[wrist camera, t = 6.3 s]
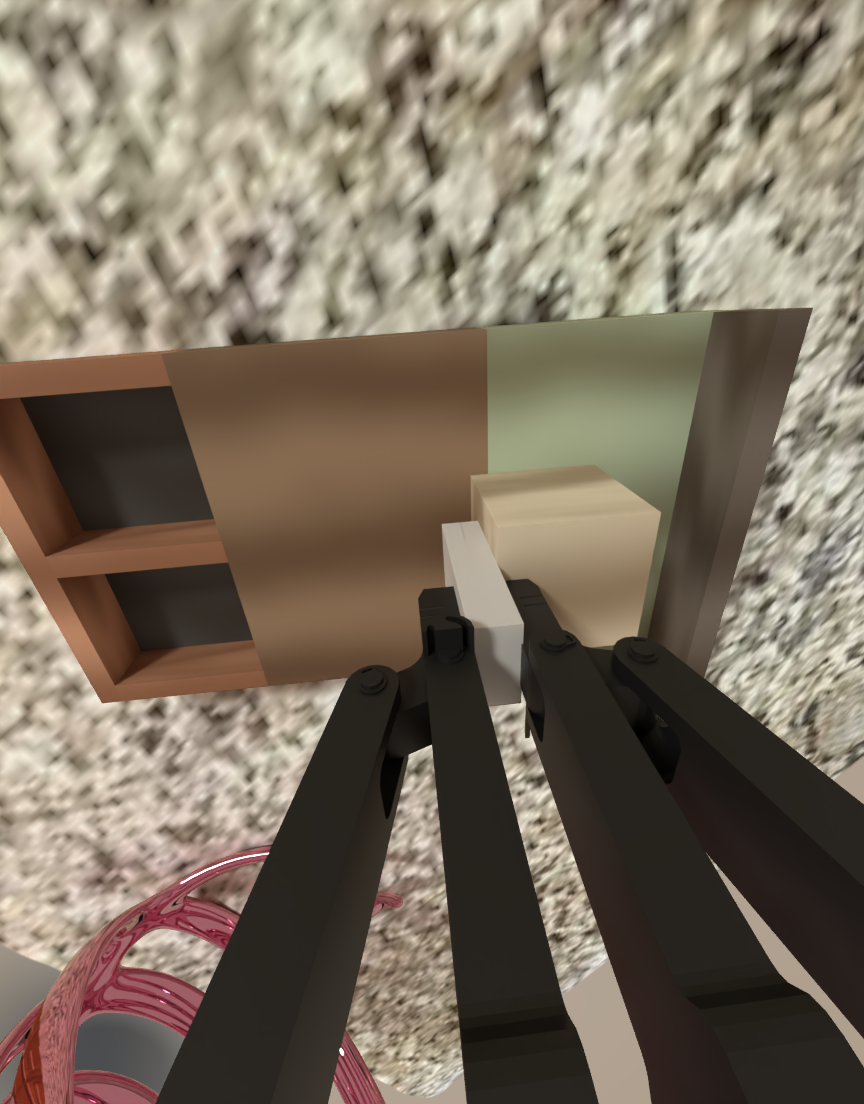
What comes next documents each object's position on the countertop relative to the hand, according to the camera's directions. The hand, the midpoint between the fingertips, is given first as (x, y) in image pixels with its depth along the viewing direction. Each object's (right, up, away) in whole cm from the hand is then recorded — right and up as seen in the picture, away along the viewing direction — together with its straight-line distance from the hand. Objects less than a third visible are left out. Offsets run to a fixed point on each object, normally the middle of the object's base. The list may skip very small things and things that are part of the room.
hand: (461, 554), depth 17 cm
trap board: (-4, +2, +4) cm, 6 cm away
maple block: (+3, +1, +2) cm, 4 cm away
